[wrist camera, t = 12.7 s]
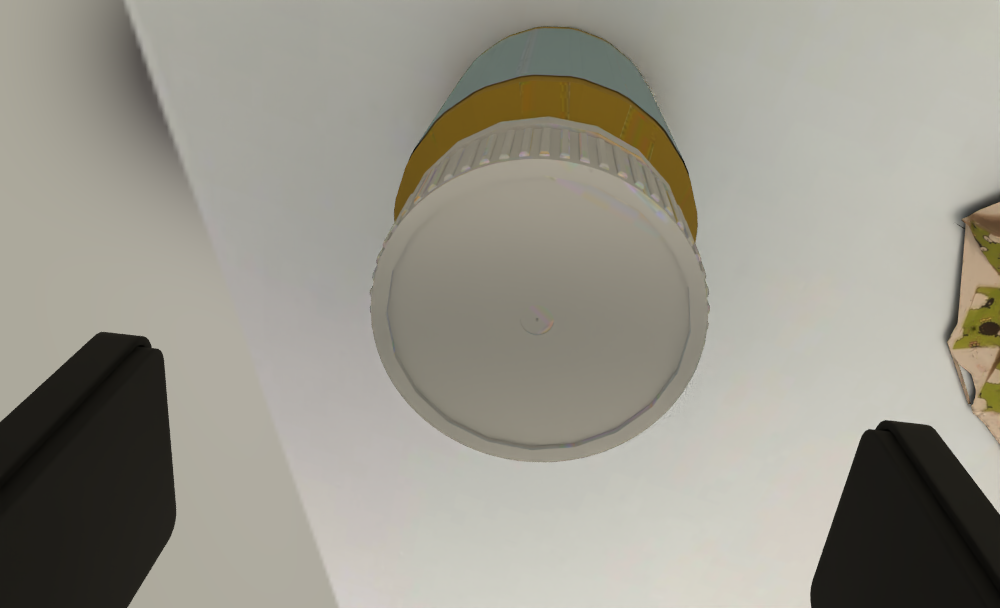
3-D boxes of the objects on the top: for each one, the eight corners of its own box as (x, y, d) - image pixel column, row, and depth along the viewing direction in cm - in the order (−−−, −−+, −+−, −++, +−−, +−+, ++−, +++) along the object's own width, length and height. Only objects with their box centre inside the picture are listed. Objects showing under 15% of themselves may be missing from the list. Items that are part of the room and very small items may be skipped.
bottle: (673, 199, 29) (764, 443, 16) (483, 246, 30) (416, 510, 17) (628, -4, 27) (693, 78, 13) (423, 58, 28) (285, 191, 14)
